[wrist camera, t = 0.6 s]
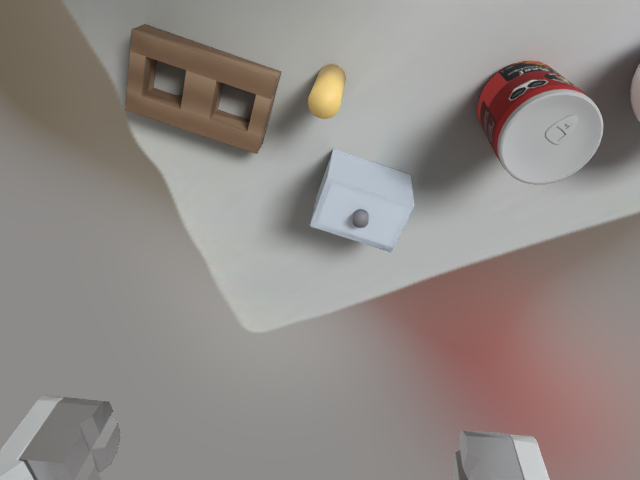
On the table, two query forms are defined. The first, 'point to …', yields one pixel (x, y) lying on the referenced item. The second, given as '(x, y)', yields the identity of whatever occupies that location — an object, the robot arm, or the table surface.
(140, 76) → the socket board
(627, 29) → the table surface
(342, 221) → the cover
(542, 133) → the canned food
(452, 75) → the table surface
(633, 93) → the lidded jar
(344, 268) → the table surface
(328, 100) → the peg
